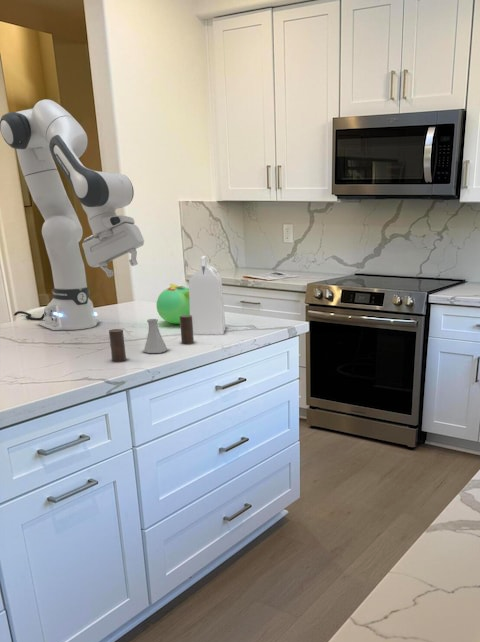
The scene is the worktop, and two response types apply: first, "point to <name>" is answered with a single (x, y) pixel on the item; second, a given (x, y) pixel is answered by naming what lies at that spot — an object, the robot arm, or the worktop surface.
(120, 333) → the walnut peg front
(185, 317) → the walnut peg back
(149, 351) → the flask
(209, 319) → the milk
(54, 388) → the worktop surface
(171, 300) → the toy bird
